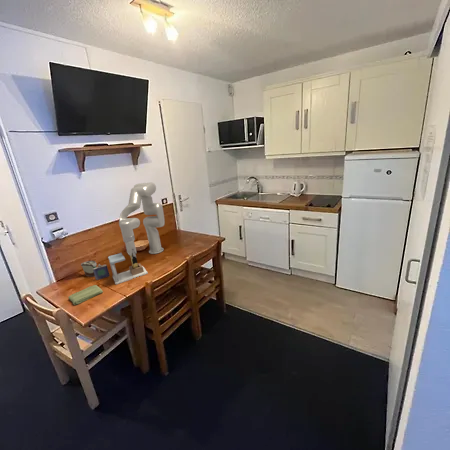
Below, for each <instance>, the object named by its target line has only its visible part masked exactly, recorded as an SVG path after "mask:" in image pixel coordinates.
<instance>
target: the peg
mask: <svg viewBox="0 0 450 450" xmlns="http://www.w3.org/2000/svg"><path fill="white" fill-rule="evenodd" d="M132 256H133V255H132ZM132 256H130V255H129V257H131V258H130V261H132ZM138 264H139V263H138V262H137V263H135V264H133V262H131V266H133V268H134V269H135V268H138Z"/></svg>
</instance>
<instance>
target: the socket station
mask: <svg viewBox="0 0 450 450" xmlns="http://www.w3.org/2000/svg"><path fill="white" fill-rule="evenodd" d="M107 259H108V261H109V265H110V269H111V272H112V273H111V274H112V279H113V282H114V284H115V285H120V284H122V283H125V282H128V281H130V280H134V279H136V277H137V278H140V277H143V276H145V275H148V274H149V273H148V271H147V270H146V268H145V267H144V265H142V264H141V262H139V263H137V264H138V268H135V269H134V268H133V266H132V265H130V266H128V267H129V268H128V270H126V271H125V270H124V271H122V272H120V273H119V272H117V269H116V265H115V264H116V263H121V262H123V261H126V258H125V256H124V255H123V253H122V252H119V253H117V254H112V255H109V256H108V257H107ZM139 276H140V277H139ZM133 278H134V279H133Z"/></svg>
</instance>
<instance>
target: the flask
mask: <svg viewBox="0 0 450 450" xmlns="http://www.w3.org/2000/svg"><path fill="white" fill-rule="evenodd" d="M93 271H94V275H95V277H94V278H95V280H96V281H99V280H102V279H105V278H109V277H110V276H111V275H110V273H109V268H108V265H107V264H103V265H102V264H100V263H99V264H97V266H96V268H93Z"/></svg>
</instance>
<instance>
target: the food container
mask: <svg viewBox="0 0 450 450" xmlns="http://www.w3.org/2000/svg"><path fill="white" fill-rule="evenodd" d="M80 266H81V267H82V269H83V273H84V274H85V276H86V277H94V278H95V275H94V271H93V268H96V267H97V266H98V264H97V262H96V261H95V260H87V261H84V262H81V263H80Z"/></svg>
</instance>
